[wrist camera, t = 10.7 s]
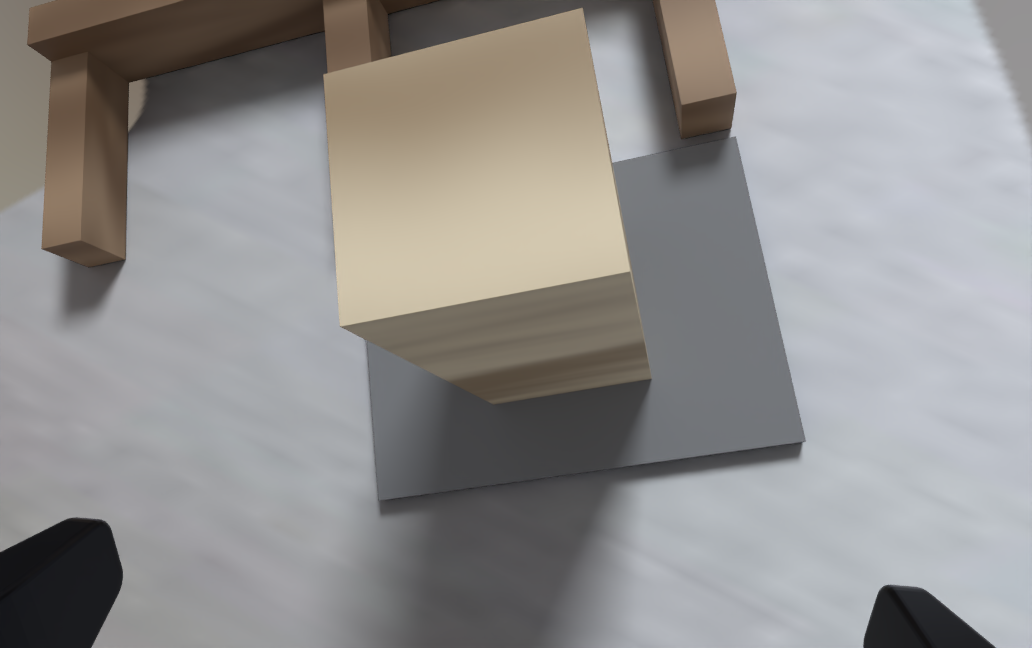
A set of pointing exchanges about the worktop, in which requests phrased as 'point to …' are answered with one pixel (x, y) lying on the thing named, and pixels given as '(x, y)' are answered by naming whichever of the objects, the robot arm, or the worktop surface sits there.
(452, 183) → the beech block
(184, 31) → the lane rack
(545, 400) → the rubber mat
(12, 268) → the worktop surface
